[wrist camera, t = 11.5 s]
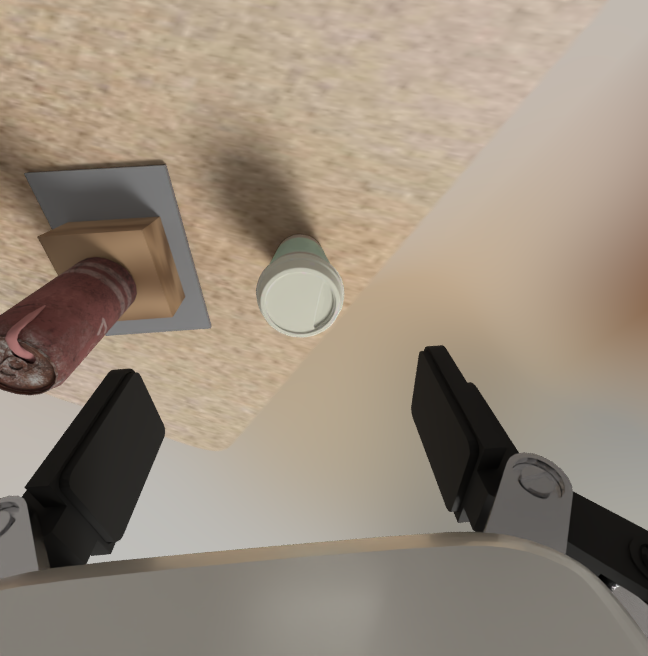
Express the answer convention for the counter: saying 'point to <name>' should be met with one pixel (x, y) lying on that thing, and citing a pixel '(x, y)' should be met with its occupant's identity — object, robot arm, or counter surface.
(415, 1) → the counter surface
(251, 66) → the counter surface
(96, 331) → the can
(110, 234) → the block
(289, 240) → the coffee cup
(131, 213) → the mat
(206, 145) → the counter surface
